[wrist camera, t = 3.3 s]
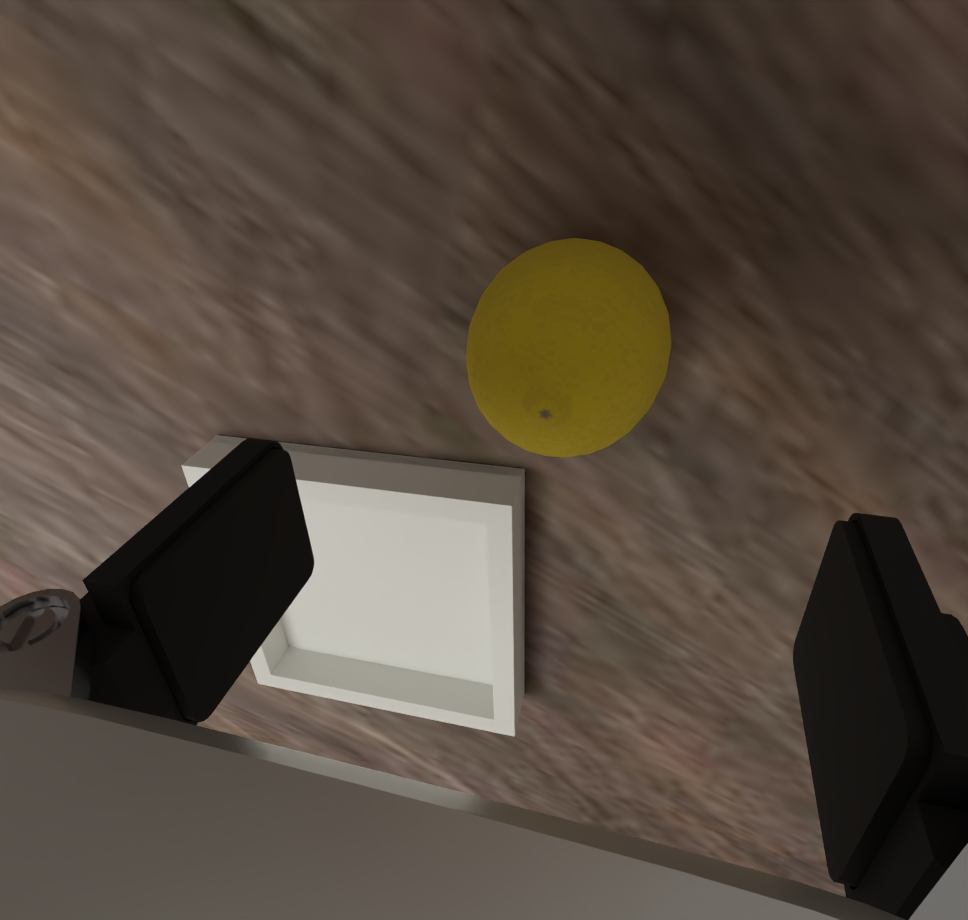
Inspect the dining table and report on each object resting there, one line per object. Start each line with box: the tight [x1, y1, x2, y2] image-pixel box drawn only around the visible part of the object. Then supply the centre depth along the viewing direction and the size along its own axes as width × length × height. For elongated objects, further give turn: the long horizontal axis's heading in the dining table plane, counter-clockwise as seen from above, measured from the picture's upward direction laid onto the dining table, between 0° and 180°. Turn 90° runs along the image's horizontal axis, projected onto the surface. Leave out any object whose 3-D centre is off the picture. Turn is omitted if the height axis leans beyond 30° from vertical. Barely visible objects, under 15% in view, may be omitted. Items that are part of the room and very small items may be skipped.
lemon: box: [466, 238, 671, 457], centre depth 18 cm, size 6×6×8 cm
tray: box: [181, 435, 525, 737], centre depth 29 cm, size 14×14×2 cm
